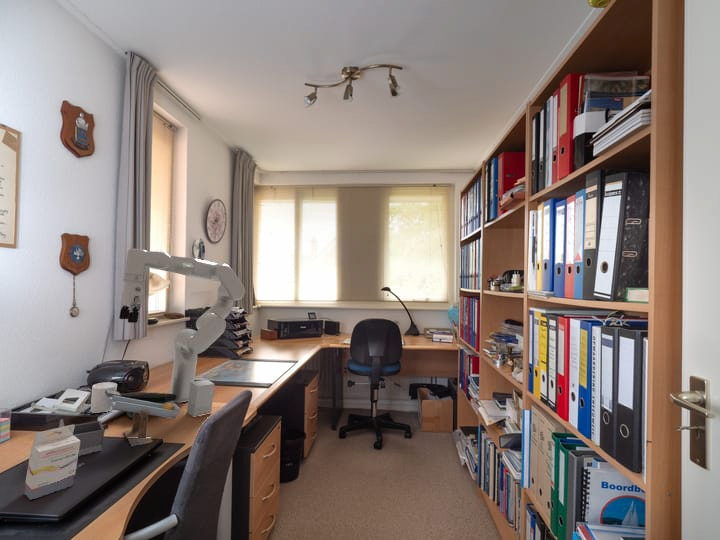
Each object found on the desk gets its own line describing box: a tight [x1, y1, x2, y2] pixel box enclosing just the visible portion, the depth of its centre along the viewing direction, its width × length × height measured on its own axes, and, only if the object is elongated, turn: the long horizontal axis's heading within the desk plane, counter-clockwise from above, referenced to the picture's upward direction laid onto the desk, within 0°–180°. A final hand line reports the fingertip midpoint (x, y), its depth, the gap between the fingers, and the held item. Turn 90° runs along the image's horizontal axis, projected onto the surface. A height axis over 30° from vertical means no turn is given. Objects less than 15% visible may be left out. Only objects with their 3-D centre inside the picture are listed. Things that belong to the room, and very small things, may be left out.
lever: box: [105, 390, 181, 419], centre depth 118 cm, size 21×15×4 cm
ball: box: [163, 403, 173, 410], centre depth 120 cm, size 3×3×3 cm
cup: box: [57, 418, 106, 450], centre depth 103 cm, size 10×8×9 cm
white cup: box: [90, 381, 118, 414], centre depth 131 cm, size 8×8×10 cm
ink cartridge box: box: [24, 424, 80, 490], centre depth 84 cm, size 9×5×15 cm, turn 150°
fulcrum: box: [123, 410, 151, 438], centre depth 114 cm, size 6×12×10 cm, turn 46°
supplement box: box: [186, 379, 216, 418], centre depth 139 cm, size 7×7×13 cm
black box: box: [120, 391, 176, 419], centre depth 134 cm, size 18×9×20 cm
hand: (128, 320), depth 134 cm, fingers open, 9 cm apart
